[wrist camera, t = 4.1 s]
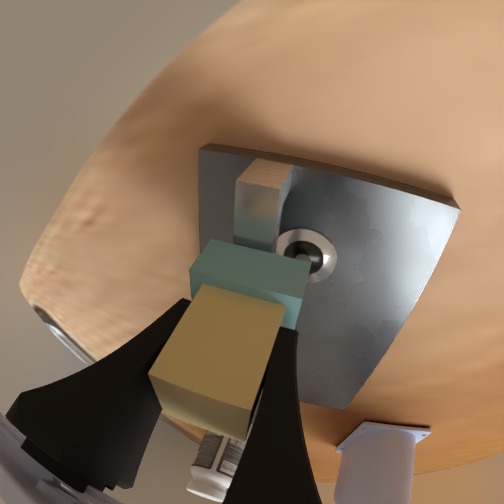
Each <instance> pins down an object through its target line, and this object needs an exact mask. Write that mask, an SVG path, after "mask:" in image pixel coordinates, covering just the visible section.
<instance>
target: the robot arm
mask: <svg viewBox="0 0 504 504" xmlns="http://www.w3.org/2000/svg"><path fill="white" fill-rule="evenodd" d="M191 302H192V301H190V300H187V299H184V298H182V299H180V300H179V301H178V302H177V303H176V304H174V305H173V306H172V307H171V308H170V309H169V310H168V311H166V312H165V313H164V314H163V315H162V316H160V317H159V318H158V319H157V320H156V321H154V322H153V323H152V324H151V325H149V326H148V327H147V328H146V329H144V330H143V331H142V332H140V333H139V334H138V335H137V336H135V337H134V338H133V339H131V340H130V341H128V342H127V343H125V344H124V345H123V346H121V347H120V348H118V349H117V350H115V351H114V352H112V353H111V354H109V355H108V356H106V357H104V358H103V359H101V360H99V361H98V362H96V363H94V364H92V365H90V366H88V367H87V368H85V369H83V370H81V371H79V372H77V373H75V374H73V375H70V376H68V377H66V378H63V379H61V380H58V381H56V382H53V383H51V384H48V385H45V386H42V387H39V388H35V389H32V390H29V391H25V392H22V393H21V394H20V395H19V396H18V398H17V399H16V400H15V402H14V403H13V405H12V406H11V408H10V409H9V411H8V412H7V414H6V415H5V416H6V417H5V416H4V415H3V414H1V412H0V497H1V498H2V499H3V501H4V502H5V503H6V504H90V503H92V504H123V503H121V502H119V501H117V500H115V499H114V498H112V497H110V496H108V495H107V494H105V493H103V490H104V489H105V487H107V488H108V489H110V490H113V489H114V488H115V486H116V485H117V486H119V487H121V488H123V489H128V488H131V487H133V484H134V481H135V478H136V475H137V472H138V468H139V465H140V463H141V460H142V457H143V454H144V451H145V449H146V446H147V444H148V441H149V439H150V436H151V434H152V431H153V429H154V427H155V424H156V422H157V420H158V418H159V415H160V413H161V411H162V407H161V404H160V402H159V400H158V397H157V395H156V393H155V390H154V388H153V385H152V383H151V380H150V378H149V375H148V373H149V371H150V369H151V368H152V366H153V364H154V363H155V361H156V359H157V358H158V356H159V354H160V353H161V351H162V349H163V348H164V346H165V344H166V343H167V341H168V339H169V338H170V336H171V334H172V333H173V331H174V329H175V328H176V326H177V325H178V323H179V321H180V320H181V318H182V316H183V315H184V313H185V312H186V310H187V308H188V307H189V305H190V303H191ZM298 335H299V333H298V332H297V330H293V329H289V328H286V327H282V326H280V328H279V331H278V333H277V336H276V339H275V342H274V345H273V348H272V352H271V356H270V361H269V365H268V370H267V374H266V378H265V382H264V387H263V391H262V396H261V400H260V404H259V409H258V412H257V415H256V418H255V420H254V423H253V426H252V429H251V432H250V434H249V437H248V440H247V442H246V445H245V448H244V450H243V453H242V456H241V458H240V461H239V463H238V466H237V469H236V471H235V474H234V476H233V479H232V481H231V484H230V486H229V488H228V491H227V493H226V496H225V498H224V500H223V503H222V504H322V502H321V499H320V496H319V493H318V490H317V486H316V483H315V480H314V476H313V472H312V468H311V465H310V461H309V457H308V453H307V448H306V443H305V438H304V433H303V428H302V421H301V414H300V406H299V398H298V385H297V342H298ZM13 426H14V427H16V428H17V429H18V430H19V431H20V432H21V433H22V434H23V435H22V434H21V433H20V432H19V431H18V430H17V429H16V428H14V427H13ZM430 433H431V429H429V428H417V427H406V426H397V425H389V424H381V423H374V422H363V423H362V424H361V425H360V426H359V427H358V428H357V429H356V430H355V431H354V432H352V433H351V434H350V435H349V436H348V437H347V438H346V439H345V440H344V441H343V442H342V443H341V444H340V445H339V446H337V447H336V449H335V451H336V452H340V453H342V458H341V463H340V468H339V473H338V478H337V482H336V487H335V492H334V500H335V503H336V504H409V503H410V496H411V487H412V479H413V469H414V457H415V444H416V443H418V442H419V441H421V440H422V439H424V438H425V437H426V436H428V435H429V434H430ZM24 435H25V436H26V437H25V436H24ZM60 482H61V483H62V484H63V485H65V486H66V487H68V488H69V489H71V490H72V491H73V492H71V491H70V490H68V489H66V488H64V487H62V486H61V483H60ZM74 492H75V493H74ZM77 494H78V495H77ZM82 497H83V498H82ZM85 499H86V500H87V501H86V500H85ZM88 501H89V502H90V503H89V502H88Z"/></svg>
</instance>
